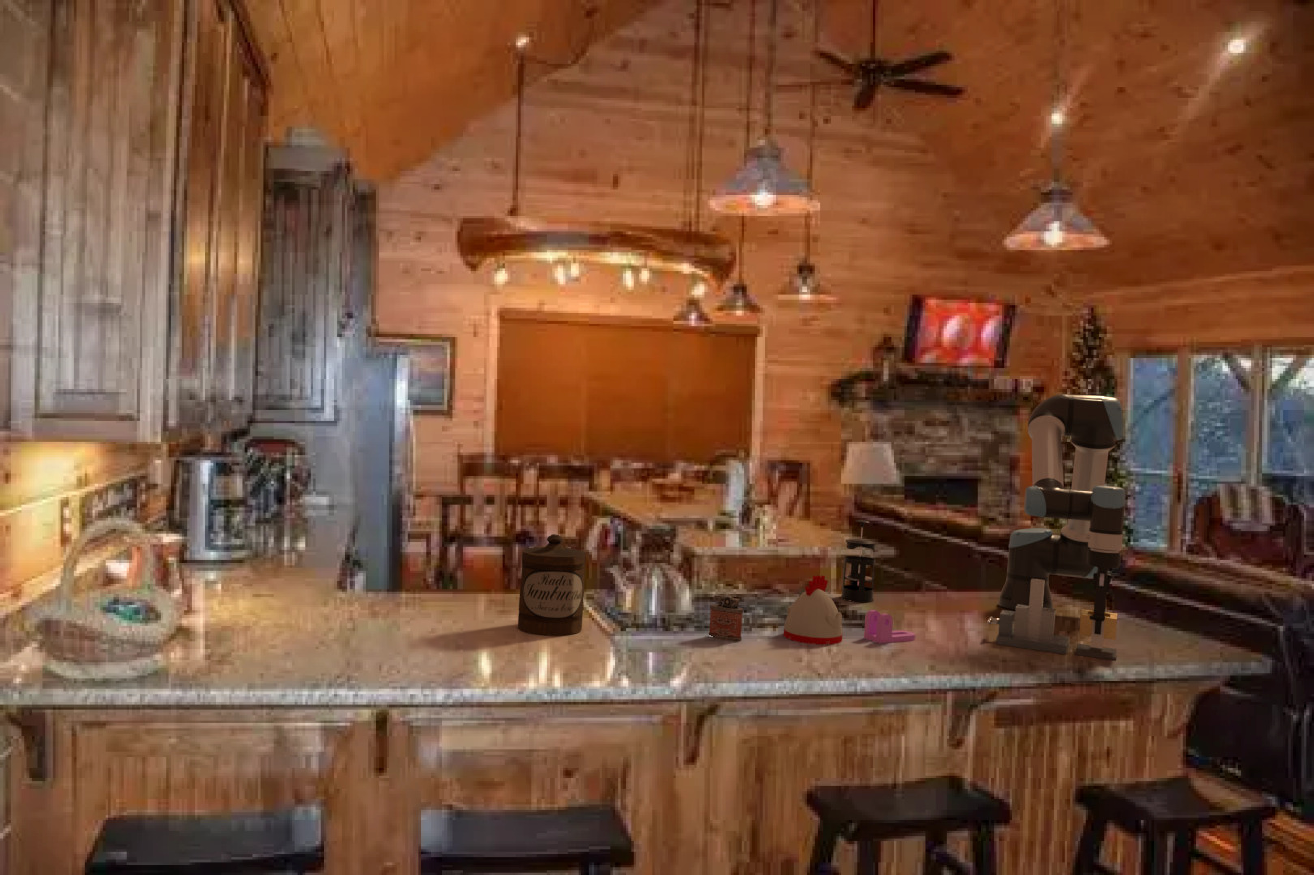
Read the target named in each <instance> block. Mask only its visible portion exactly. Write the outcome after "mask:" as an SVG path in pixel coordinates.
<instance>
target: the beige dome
mask: <svg viewBox="0 0 1314 875" xmlns="http://www.w3.org/2000/svg"><path fill="white" fill-rule="evenodd" d="M828 583H829V580H827V579H826V576H825V575H821V576H820V575H813V576H812V580H809V581H808V586H805V587H804V589H805V591H804V592H802V593H801V594H800V595H799V596H798V597H797V598H796V599H795V600H794V602H793V604H792V605H791V606H788V607H787V612H786V613H787V616H786V619H785V622H784V626H783V637H784V636H785V637H784V638H786V639H788V640H790V641H794V642H798V643H804V644H809V645H810V644H811V645H821V646H822V645H825V646H826V645H836V644H840V643H842V641H843V625H842V624H843V615H842V613H841V612H839V611H838V608H837V606H836V604H835V602H834V601H833V599H832V598H831V596H830V595H829V594H828V593H826V589H827V586H828Z"/></svg>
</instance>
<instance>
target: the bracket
mask: <svg viewBox="0 0 1314 875" xmlns="http://www.w3.org/2000/svg"><path fill="white" fill-rule="evenodd" d="M893 624H894V619H893V617H892V615H891V614H888V613H883V612H882V613H880V612H879V611H878V610H875V609H870V610H868V611H867V612H866V614H865V618H864V632H863V633H864V634H863V638H864V639H865V638H866V640H867V641H868V640H869V641H871V642H875V643H877V644H887V643H898V642H911V641H915V640H916V633H915V632H912V631H907V630H893V626H894V625H893Z"/></svg>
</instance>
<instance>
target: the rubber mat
mask: <svg viewBox="0 0 1314 875" xmlns="http://www.w3.org/2000/svg"><path fill="white" fill-rule="evenodd" d="M1075 655H1077V656H1083V657H1088V658H1089V657H1090V658H1096V659H1103V660H1111V661H1112V660H1113V661H1116V660H1117V648H1113V647H1104V646H1103V648H1096V647H1090V644H1084V643H1076V649H1075Z"/></svg>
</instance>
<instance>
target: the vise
mask: <svg viewBox="0 0 1314 875" xmlns="http://www.w3.org/2000/svg"><path fill="white" fill-rule="evenodd" d="M1044 583H1045V580H1040V579H1031V586H1030V599H1029V606H1027V605H1019V604H1017V606H1016V609H1015V610H1005V609H1002V610H1001V611H1000V614H999V618H996V617H993V616H989V618H988V619H987V621H986V624H987V625H991V624H992V625H993V624H994V625H998V634H997V636H996V645H999V646H1000V645H1001V646H1007V647H1014V648H1021V649H1028V650H1034V649H1036V651H1042V652H1050V653H1056V654H1063V655H1067V652H1068V648H1069V644H1070V643H1069V642H1070V636H1066V635H1057V634H1055V621H1056V612H1057V611H1056V608H1053V609H1050V608H1043V596H1044Z"/></svg>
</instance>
